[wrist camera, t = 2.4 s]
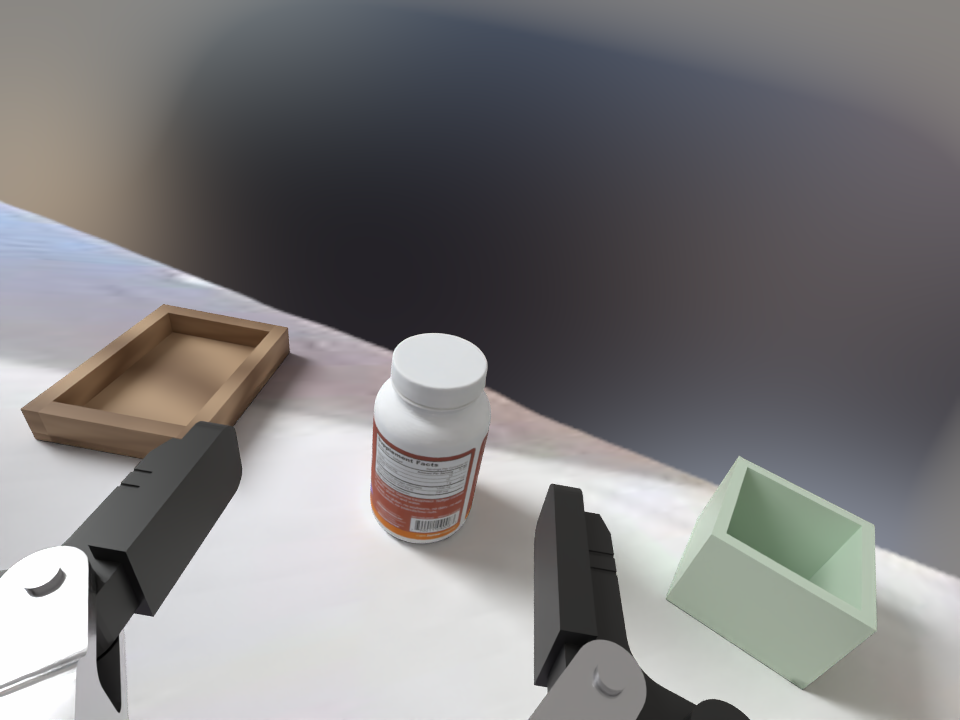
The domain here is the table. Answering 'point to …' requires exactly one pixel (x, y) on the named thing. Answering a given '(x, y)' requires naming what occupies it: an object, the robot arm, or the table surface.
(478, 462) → the pill bottle
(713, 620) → the pale green bin
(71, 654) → the robot arm
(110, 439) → the tray
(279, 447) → the table surface
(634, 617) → the table surface
